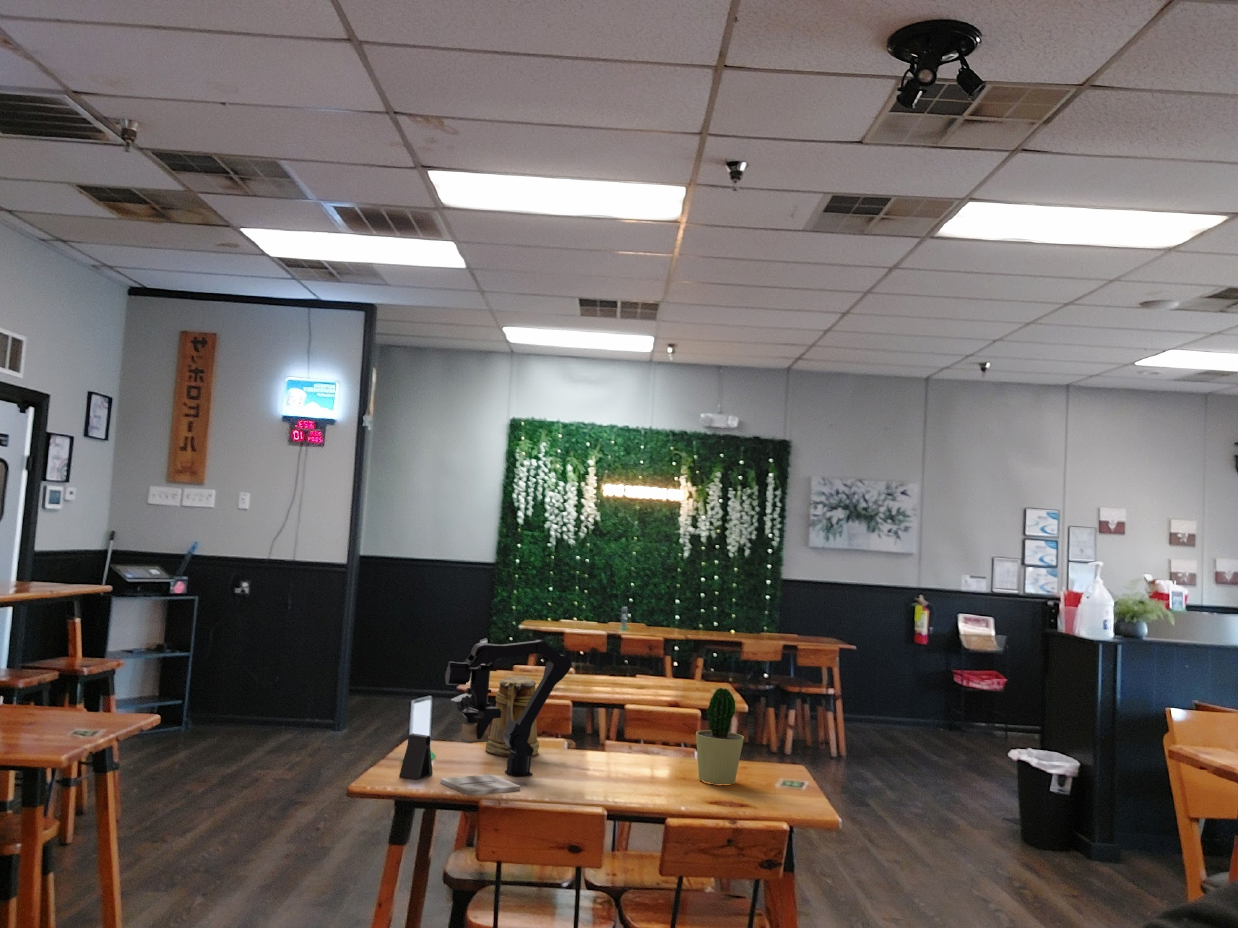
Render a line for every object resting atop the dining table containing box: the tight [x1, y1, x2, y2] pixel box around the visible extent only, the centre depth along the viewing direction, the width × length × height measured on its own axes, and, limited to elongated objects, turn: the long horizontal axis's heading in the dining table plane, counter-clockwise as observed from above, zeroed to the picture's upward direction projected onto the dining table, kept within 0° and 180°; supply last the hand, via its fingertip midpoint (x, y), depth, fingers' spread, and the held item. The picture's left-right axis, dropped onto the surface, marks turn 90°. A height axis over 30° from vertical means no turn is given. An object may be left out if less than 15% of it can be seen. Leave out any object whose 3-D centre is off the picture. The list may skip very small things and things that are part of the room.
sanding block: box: [460, 722, 491, 744], centre depth 309 cm, size 7×4×5 cm, turn 129°
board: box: [440, 773, 522, 797], centre depth 293 cm, size 17×16×1 cm
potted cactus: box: [695, 687, 745, 785], centre depth 325 cm, size 15×15×30 cm
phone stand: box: [398, 732, 434, 781], centre depth 300 cm, size 9×6×12 cm, turn 160°
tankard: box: [485, 675, 540, 758], centre depth 344 cm, size 18×24×25 cm
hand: (474, 737), depth 308 cm, fingers closed on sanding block, 4 cm apart
